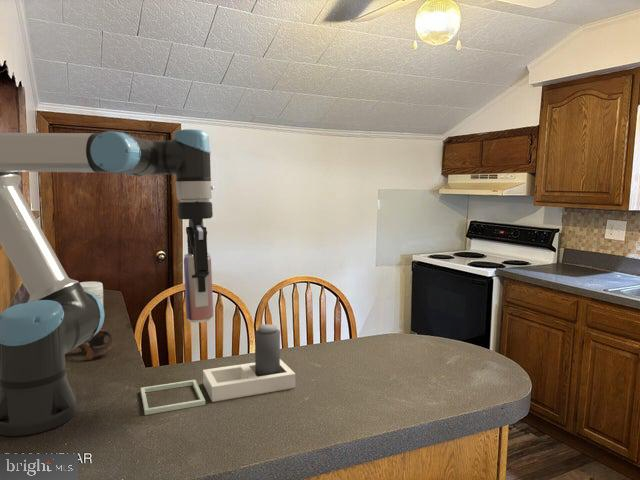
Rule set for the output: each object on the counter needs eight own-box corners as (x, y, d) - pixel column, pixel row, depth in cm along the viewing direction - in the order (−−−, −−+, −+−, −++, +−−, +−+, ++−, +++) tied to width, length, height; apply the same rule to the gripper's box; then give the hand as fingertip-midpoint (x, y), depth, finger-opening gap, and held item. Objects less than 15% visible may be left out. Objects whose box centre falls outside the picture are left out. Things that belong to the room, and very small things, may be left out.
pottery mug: (120, 349, 142) (121, 330, 137) (105, 373, 134) (106, 354, 129) (79, 339, 141) (79, 320, 136) (62, 363, 133) (62, 343, 128)
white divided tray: (212, 401, 106) (212, 386, 106) (203, 383, 116) (202, 369, 116) (295, 387, 114) (295, 373, 114) (280, 371, 124) (280, 358, 124)
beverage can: (180, 321, 107) (177, 255, 105) (199, 314, 112) (196, 252, 111) (200, 324, 104) (197, 256, 102) (219, 317, 109) (216, 253, 108)
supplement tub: (66, 327, 161) (65, 285, 160) (89, 320, 170) (87, 280, 169) (88, 330, 158) (87, 287, 157) (110, 323, 167) (108, 282, 165)
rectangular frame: (144, 415, 99) (144, 410, 99) (140, 391, 111) (140, 387, 111) (205, 404, 105) (205, 400, 104) (195, 383, 116) (195, 379, 116)
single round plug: (259, 389, 113) (259, 331, 112) (252, 380, 118) (252, 324, 117) (283, 385, 116) (283, 328, 114) (275, 376, 121) (275, 322, 120)
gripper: (219, 200, 98) (224, 310, 100) (204, 200, 115) (208, 293, 118) (182, 201, 95) (188, 314, 97) (172, 201, 112) (177, 296, 115)
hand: (199, 302), depth 108 cm, fingers closed on beverage can, 6 cm apart
